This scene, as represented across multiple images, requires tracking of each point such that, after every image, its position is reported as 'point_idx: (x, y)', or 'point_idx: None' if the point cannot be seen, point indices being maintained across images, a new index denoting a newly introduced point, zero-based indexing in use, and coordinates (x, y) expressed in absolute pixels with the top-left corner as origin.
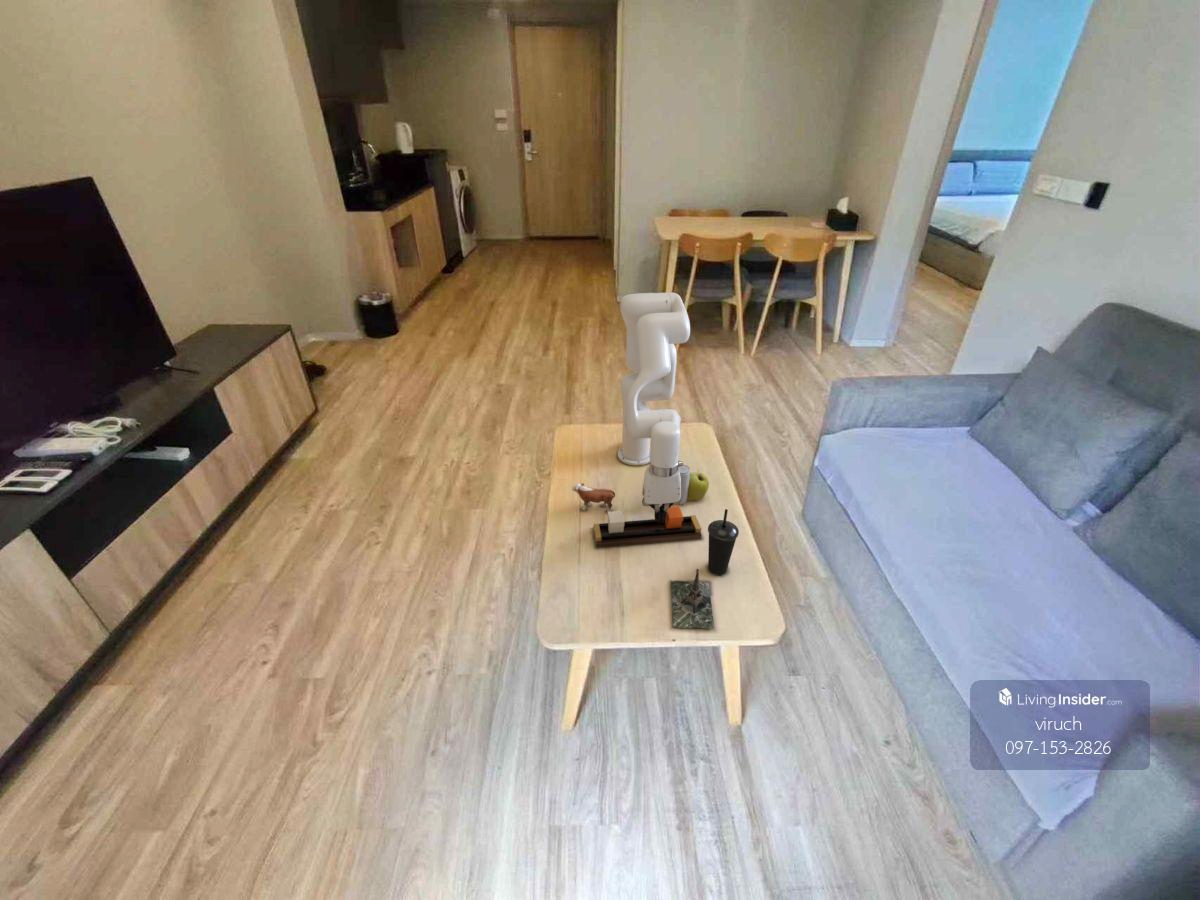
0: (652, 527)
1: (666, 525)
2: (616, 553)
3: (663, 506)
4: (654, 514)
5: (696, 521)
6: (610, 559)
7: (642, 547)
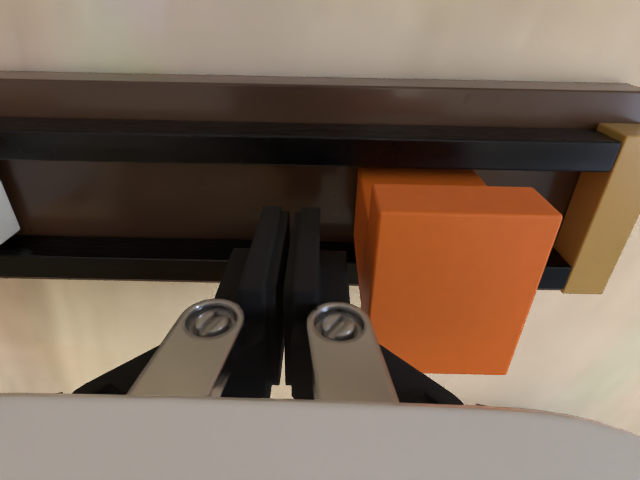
0: (250, 174)
1: (357, 219)
2: (29, 305)
3: (312, 395)
4: (231, 258)
5: (623, 219)
6: (5, 336)
7: (179, 285)
